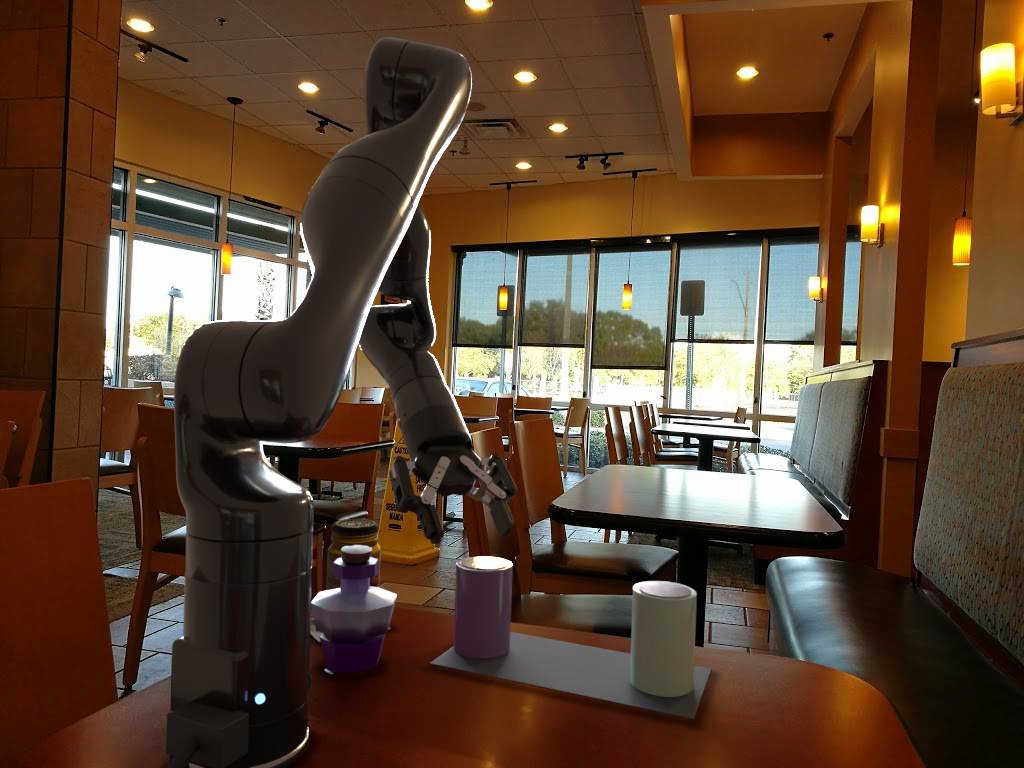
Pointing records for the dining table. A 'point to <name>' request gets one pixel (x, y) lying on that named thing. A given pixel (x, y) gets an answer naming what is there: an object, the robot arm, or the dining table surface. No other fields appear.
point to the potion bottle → (353, 613)
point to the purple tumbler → (483, 607)
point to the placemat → (576, 673)
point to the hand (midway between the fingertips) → (474, 536)
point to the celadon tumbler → (663, 638)
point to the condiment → (350, 535)
